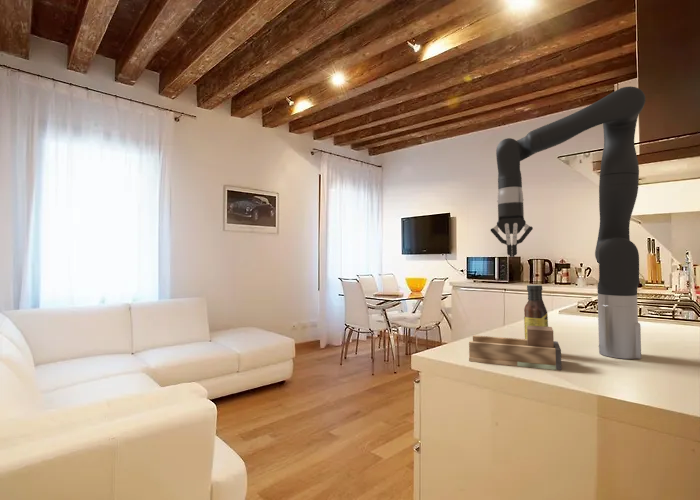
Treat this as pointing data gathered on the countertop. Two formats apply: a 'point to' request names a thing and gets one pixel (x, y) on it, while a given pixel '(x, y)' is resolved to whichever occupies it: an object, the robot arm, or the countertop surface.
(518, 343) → the wooden tray
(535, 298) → the sauce bottle
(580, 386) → the countertop surface
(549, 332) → the block
